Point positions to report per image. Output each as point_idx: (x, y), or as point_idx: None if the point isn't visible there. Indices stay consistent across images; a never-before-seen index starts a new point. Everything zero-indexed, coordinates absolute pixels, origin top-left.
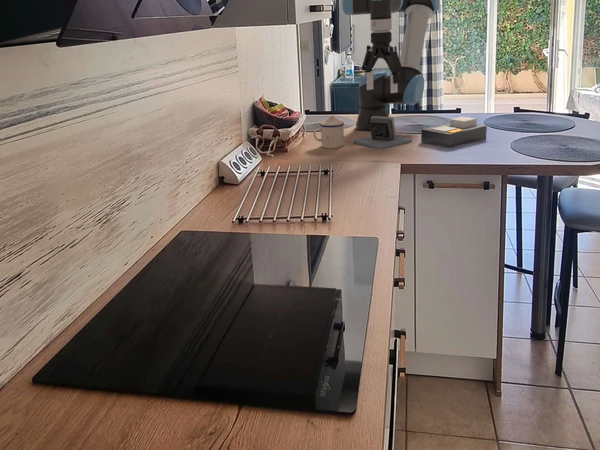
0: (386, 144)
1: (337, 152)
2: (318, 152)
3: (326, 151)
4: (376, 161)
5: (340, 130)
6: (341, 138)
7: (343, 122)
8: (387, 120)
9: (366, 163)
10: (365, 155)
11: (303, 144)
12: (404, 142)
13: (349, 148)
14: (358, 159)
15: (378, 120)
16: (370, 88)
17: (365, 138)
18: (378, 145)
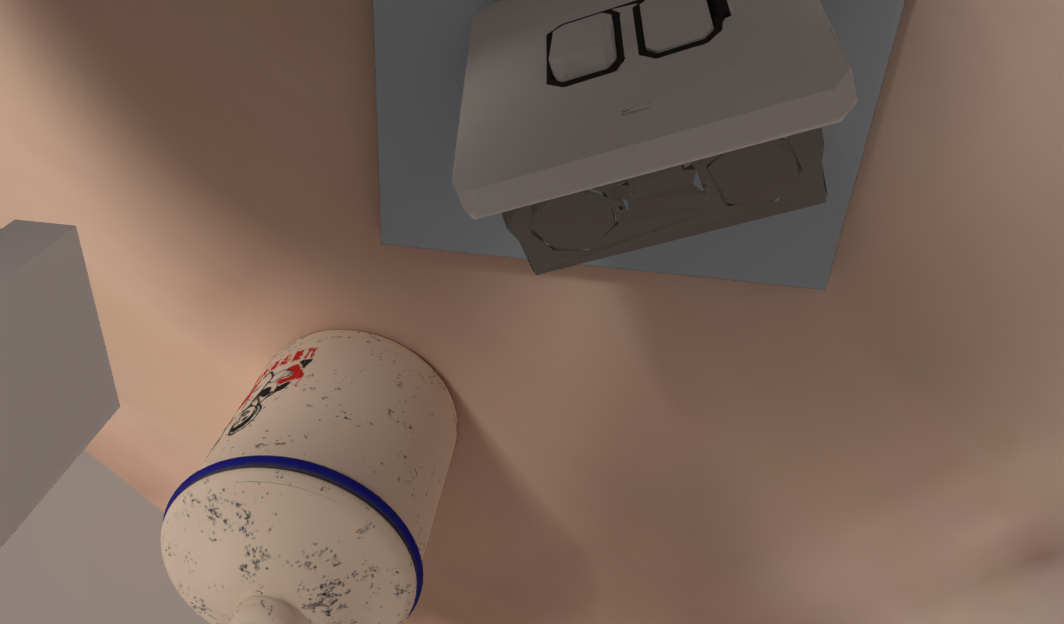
0: (829, 184)
1: (572, 521)
2: (456, 581)
3: (477, 539)
4: (1043, 553)
5: (425, 519)
6: (439, 452)
7: (365, 510)
8: (772, 142)
9: (1000, 615)
10: (842, 480)
11: (138, 489)
12: None
13: (546, 395)
14: (871, 575)
15: (625, 195)
16: (84, 348)
17: (417, 107)
18: (780, 264)
